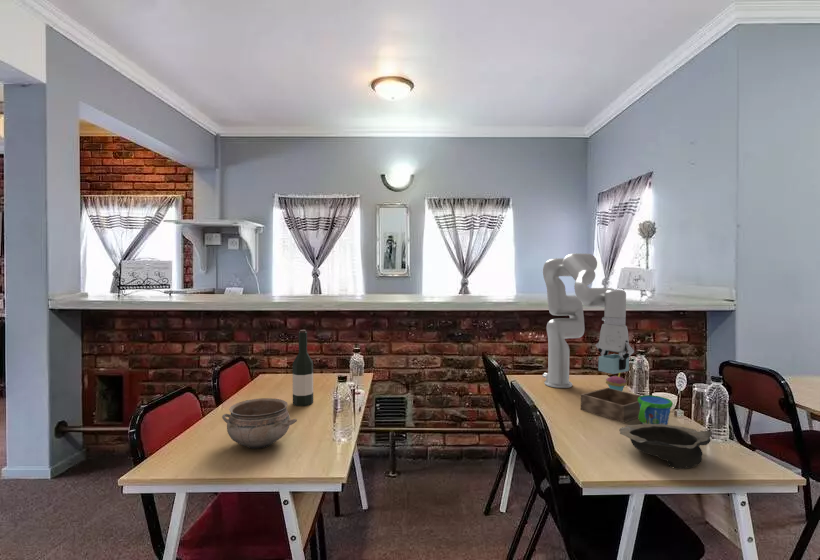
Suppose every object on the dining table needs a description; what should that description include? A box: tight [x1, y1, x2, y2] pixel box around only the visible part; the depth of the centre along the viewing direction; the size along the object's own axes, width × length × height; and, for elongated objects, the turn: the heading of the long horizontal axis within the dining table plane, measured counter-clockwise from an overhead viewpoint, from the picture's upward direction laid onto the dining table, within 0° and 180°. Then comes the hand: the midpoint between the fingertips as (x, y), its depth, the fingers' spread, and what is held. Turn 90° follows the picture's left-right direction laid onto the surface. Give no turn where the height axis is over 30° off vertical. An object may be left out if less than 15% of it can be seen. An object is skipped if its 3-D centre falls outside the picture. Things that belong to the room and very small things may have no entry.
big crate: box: [580, 387, 641, 423], centre depth 178 cm, size 18×18×6 cm
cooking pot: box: [221, 397, 298, 450], centre depth 144 cm, size 25×19×12 cm
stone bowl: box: [618, 423, 713, 469], centre depth 137 cm, size 25×25×9 cm
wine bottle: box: [292, 329, 314, 407], centre depth 187 cm, size 8×8×30 cm
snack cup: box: [637, 395, 674, 425], centre depth 160 cm, size 16×10×10 cm
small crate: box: [597, 353, 630, 375], centre depth 177 cm, size 6×10×6 cm, turn 123°
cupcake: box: [605, 373, 627, 392], centre depth 206 cm, size 9×8×12 cm
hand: (613, 367), depth 178 cm, fingers closed on small crate, 6 cm apart
